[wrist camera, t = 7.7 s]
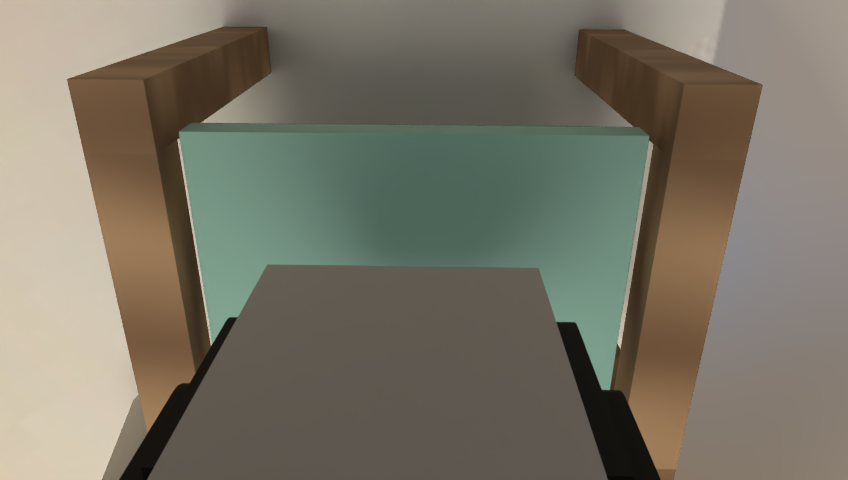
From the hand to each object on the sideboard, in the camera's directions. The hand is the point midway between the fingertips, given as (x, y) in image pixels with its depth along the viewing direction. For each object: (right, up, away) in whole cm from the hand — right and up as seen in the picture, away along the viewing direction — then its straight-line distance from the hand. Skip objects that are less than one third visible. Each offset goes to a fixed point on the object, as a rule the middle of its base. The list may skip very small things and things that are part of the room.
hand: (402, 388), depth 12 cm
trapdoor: (0, +1, +9) cm, 9 cm away
